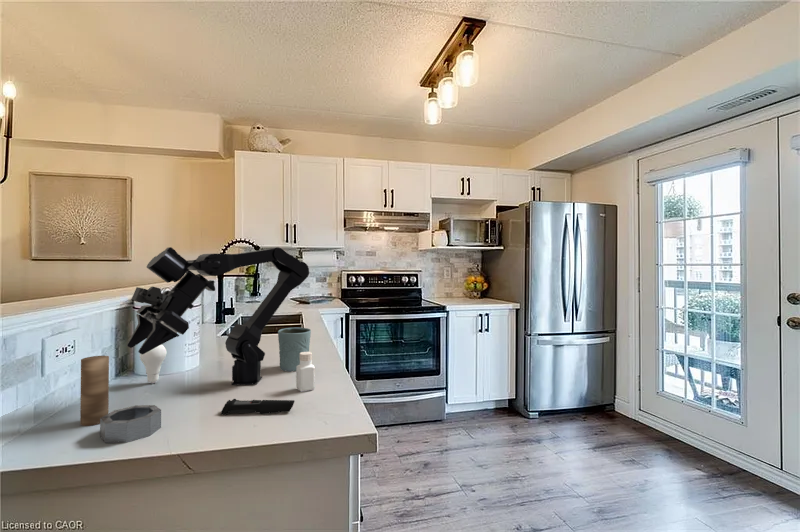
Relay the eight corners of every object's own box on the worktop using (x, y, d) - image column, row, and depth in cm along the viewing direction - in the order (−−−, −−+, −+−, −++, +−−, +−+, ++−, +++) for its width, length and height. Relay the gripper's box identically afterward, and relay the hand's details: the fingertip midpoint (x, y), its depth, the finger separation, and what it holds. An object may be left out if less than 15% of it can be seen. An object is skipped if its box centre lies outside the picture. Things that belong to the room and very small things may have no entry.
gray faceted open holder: (168, 421, 78) (168, 404, 78) (141, 442, 69) (142, 422, 69) (122, 422, 77) (122, 405, 77) (89, 443, 68) (89, 423, 68)
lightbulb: (156, 386, 100) (157, 345, 100) (133, 386, 100) (134, 344, 100) (171, 380, 106) (171, 340, 106) (149, 379, 106) (150, 340, 106)
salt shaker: (310, 385, 102) (310, 350, 102) (315, 390, 99) (315, 353, 99) (295, 388, 100) (295, 352, 100) (300, 392, 96) (300, 355, 96)
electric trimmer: (291, 417, 82) (292, 403, 82) (219, 416, 81) (219, 402, 81) (296, 411, 86) (296, 397, 86) (226, 410, 85) (227, 396, 85)
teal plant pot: (298, 362, 127) (298, 326, 127) (317, 367, 120) (317, 329, 120) (271, 368, 119) (271, 330, 119) (289, 374, 112) (290, 334, 112)
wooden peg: (113, 416, 80) (114, 355, 80) (98, 425, 76) (98, 360, 76) (91, 417, 80) (91, 355, 80) (74, 426, 75) (75, 361, 75)
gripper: (143, 272, 94) (91, 325, 87) (168, 274, 82) (110, 336, 74) (180, 299, 101) (135, 350, 93) (209, 305, 88) (159, 364, 81)
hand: (134, 350), depth 85 cm, fingers open, 9 cm apart
